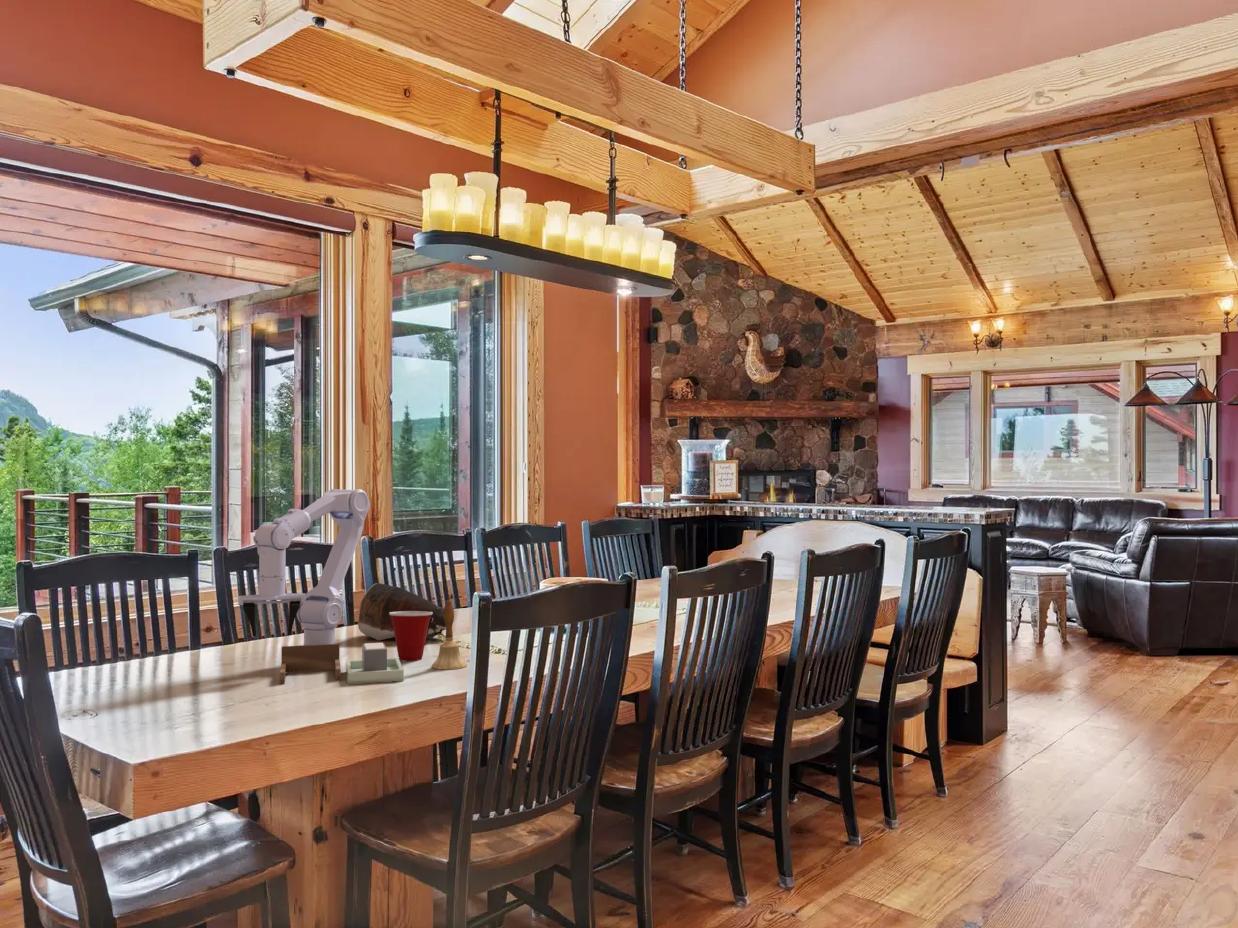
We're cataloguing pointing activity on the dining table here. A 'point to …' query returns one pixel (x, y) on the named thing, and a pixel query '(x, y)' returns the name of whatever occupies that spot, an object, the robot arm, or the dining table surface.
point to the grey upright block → (374, 657)
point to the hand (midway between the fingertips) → (272, 634)
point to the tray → (374, 672)
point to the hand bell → (449, 645)
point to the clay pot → (394, 599)
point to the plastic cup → (410, 633)
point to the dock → (310, 659)
